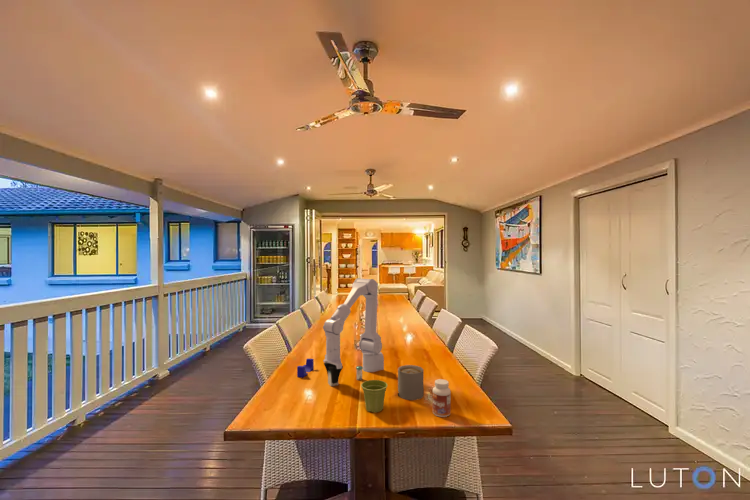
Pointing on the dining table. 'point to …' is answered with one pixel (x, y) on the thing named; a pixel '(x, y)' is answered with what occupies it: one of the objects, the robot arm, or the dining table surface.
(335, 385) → the leg
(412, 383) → the coffee mug
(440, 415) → the pill bottle
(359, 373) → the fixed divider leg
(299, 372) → the cable clip
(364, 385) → the plant pot
